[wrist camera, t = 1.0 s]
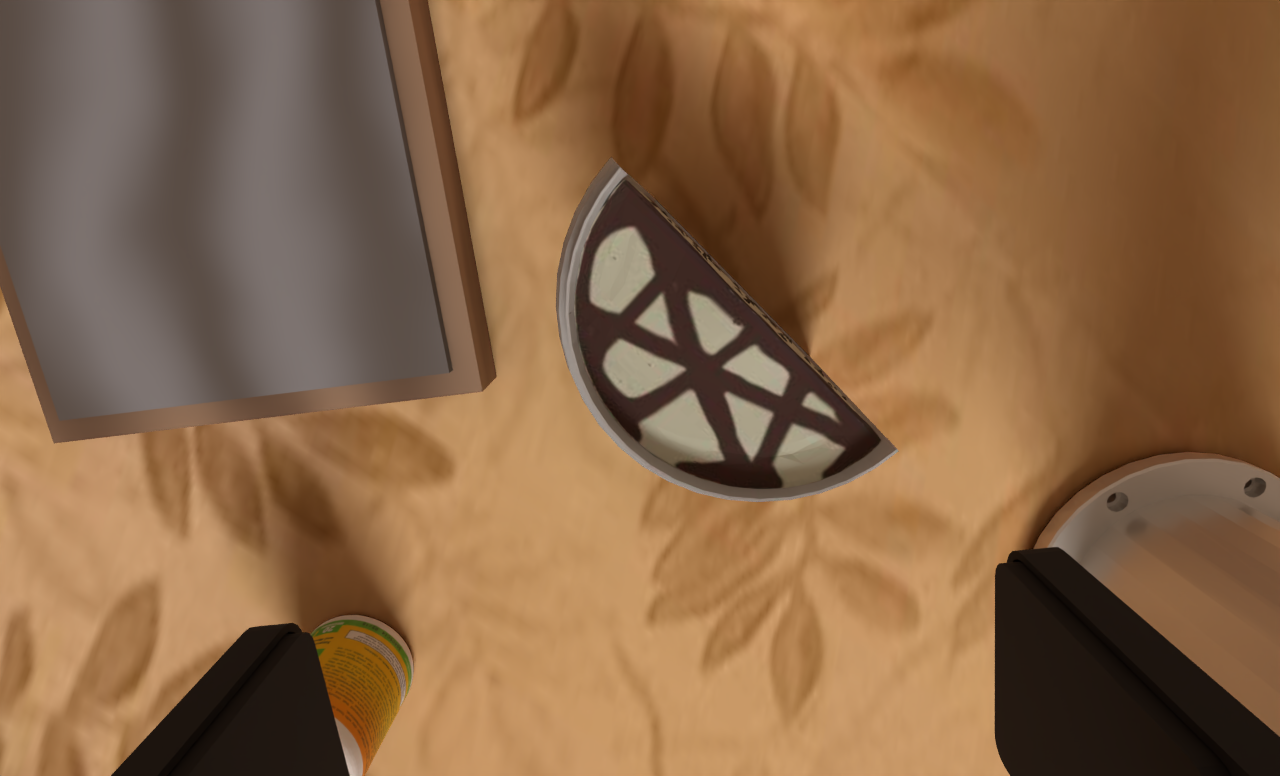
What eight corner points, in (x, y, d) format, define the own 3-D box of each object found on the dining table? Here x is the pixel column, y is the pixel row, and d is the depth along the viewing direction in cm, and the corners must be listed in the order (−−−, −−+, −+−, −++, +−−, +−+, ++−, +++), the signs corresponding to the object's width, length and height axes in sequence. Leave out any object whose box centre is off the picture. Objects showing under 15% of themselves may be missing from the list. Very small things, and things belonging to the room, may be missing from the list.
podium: (410, -95, 27) (379, -130, 24) (496, 376, 31) (479, 394, 29) (-45, -20, 28) (-126, -45, 25) (99, 425, 33) (43, 447, 30)
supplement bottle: (346, 589, 34) (225, 737, 25) (438, 656, 35) (355, 824, 26) (283, 665, 35) (145, 834, 26) (374, 729, 36) (272, 915, 27)
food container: (521, 279, 30) (454, 315, 21) (625, 168, 29) (606, 152, 20) (728, 477, 32) (756, 596, 23) (834, 381, 31) (910, 463, 21)
